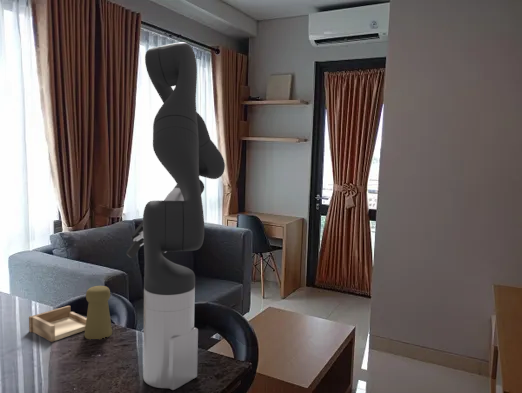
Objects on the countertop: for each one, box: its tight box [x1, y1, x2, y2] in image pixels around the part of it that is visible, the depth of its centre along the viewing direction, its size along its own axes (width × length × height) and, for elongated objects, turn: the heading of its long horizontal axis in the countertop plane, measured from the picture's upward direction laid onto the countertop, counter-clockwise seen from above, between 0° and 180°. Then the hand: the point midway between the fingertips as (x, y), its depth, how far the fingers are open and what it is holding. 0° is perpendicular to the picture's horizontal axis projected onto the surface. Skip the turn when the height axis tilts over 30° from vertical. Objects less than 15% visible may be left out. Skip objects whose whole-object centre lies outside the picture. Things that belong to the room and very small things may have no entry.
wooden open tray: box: [28, 305, 87, 343], centre depth 100 cm, size 9×10×4 cm
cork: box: [84, 285, 113, 340], centre depth 98 cm, size 6×6×11 cm
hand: (140, 259), depth 106 cm, fingers open, 8 cm apart
